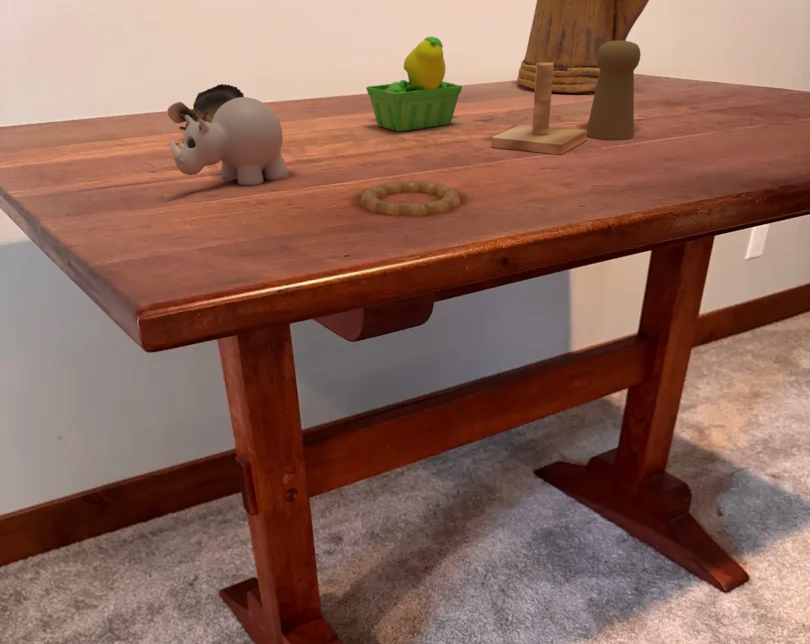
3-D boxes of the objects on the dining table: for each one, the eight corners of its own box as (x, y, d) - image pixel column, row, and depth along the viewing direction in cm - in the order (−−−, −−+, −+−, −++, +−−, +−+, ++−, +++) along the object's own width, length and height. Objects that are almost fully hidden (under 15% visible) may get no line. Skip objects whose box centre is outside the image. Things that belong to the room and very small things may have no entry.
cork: (585, 139, 100) (595, 43, 95) (585, 129, 105) (594, 38, 100) (635, 140, 99) (647, 43, 94) (632, 130, 105) (643, 38, 99)
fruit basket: (430, 116, 115) (430, 30, 109) (470, 125, 109) (472, 34, 103) (364, 126, 109) (361, 35, 103) (402, 136, 103) (401, 41, 97)
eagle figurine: (229, 139, 97) (261, 112, 103) (189, 88, 94) (224, 63, 101) (191, 168, 101) (224, 141, 108) (152, 120, 99) (188, 95, 105)
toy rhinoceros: (162, 191, 81) (147, 103, 77) (264, 172, 88) (256, 89, 83) (194, 206, 76) (180, 113, 72) (300, 184, 83) (293, 97, 78)
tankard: (555, 75, 149) (568, -81, 136) (672, 88, 135) (698, -86, 122) (496, 87, 138) (504, -83, 125) (617, 102, 124) (639, -88, 111)
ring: (476, 203, 76) (476, 186, 75) (430, 229, 69) (430, 211, 68) (393, 191, 80) (393, 175, 79) (342, 215, 73) (341, 197, 72)
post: (586, 140, 100) (594, 60, 95) (561, 154, 93) (568, 70, 88) (519, 133, 104) (524, 57, 99) (490, 147, 97) (494, 65, 92)
